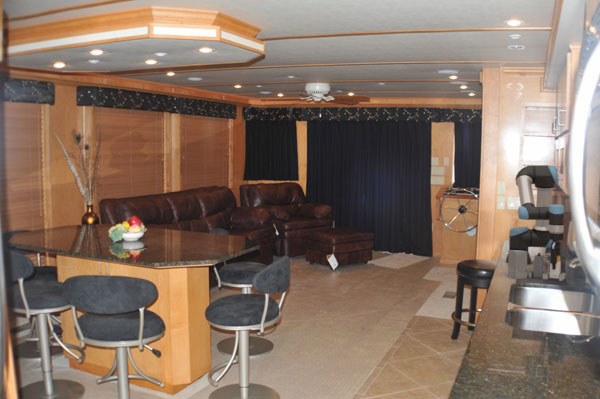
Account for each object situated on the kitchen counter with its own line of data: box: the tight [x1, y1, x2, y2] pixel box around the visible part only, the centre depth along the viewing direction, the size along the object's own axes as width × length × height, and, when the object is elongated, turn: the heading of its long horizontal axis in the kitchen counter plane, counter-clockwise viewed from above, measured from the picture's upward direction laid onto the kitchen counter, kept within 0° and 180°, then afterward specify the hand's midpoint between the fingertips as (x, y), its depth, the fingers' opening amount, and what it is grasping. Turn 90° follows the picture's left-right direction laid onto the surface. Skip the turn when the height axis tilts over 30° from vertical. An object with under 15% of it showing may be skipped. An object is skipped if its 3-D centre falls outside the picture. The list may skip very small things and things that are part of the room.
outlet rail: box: [528, 269, 566, 282], centre depth 298 cm, size 9×17×4 cm, turn 53°
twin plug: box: [533, 252, 545, 279], centre depth 300 cm, size 4×4×14 cm
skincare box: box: [507, 249, 528, 280], centre depth 299 cm, size 8×7×16 cm
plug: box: [549, 255, 562, 279], centre depth 295 cm, size 4×4×14 cm
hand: (555, 274), depth 295 cm, fingers closed on plug, 4 cm apart
